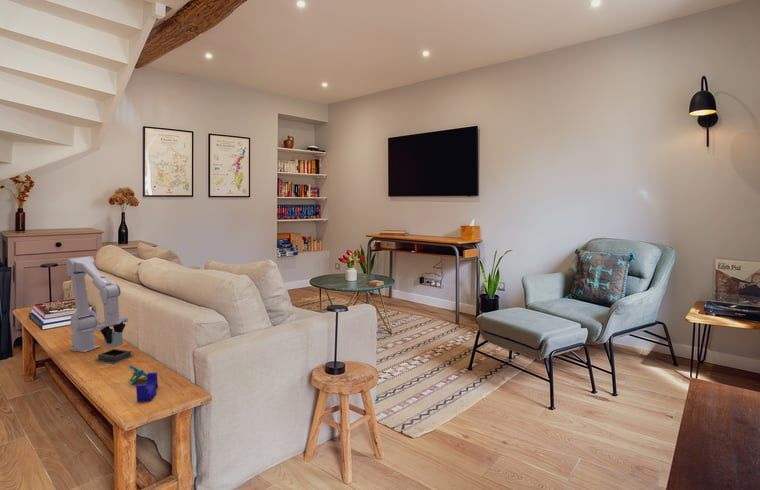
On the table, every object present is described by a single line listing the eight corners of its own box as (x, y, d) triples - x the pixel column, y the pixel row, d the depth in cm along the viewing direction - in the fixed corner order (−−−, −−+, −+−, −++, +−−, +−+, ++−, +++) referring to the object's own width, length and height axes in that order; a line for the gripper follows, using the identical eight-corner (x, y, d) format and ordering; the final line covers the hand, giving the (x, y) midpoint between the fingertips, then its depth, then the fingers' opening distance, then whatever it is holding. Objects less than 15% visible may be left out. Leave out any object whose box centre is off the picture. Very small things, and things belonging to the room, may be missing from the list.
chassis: (95, 360, 196) (95, 355, 196) (115, 353, 206) (114, 347, 205) (114, 363, 193) (114, 358, 192) (133, 355, 202) (133, 350, 202)
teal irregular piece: (157, 378, 173) (135, 365, 168) (147, 392, 171) (124, 379, 166) (148, 374, 181) (127, 361, 176) (138, 387, 179) (116, 375, 173)
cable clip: (150, 401, 158) (149, 385, 158) (137, 402, 158) (136, 386, 157) (162, 387, 170) (161, 372, 169) (149, 387, 169) (148, 372, 169)
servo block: (104, 345, 197) (103, 332, 197) (112, 342, 201) (111, 330, 201) (114, 347, 196) (113, 334, 195) (122, 344, 199) (121, 331, 199)
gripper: (103, 317, 189) (105, 347, 190) (132, 308, 202) (134, 337, 204) (91, 315, 191) (93, 346, 192) (120, 307, 204) (122, 336, 206)
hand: (113, 341), depth 198 cm, fingers closed on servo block, 4 cm apart
